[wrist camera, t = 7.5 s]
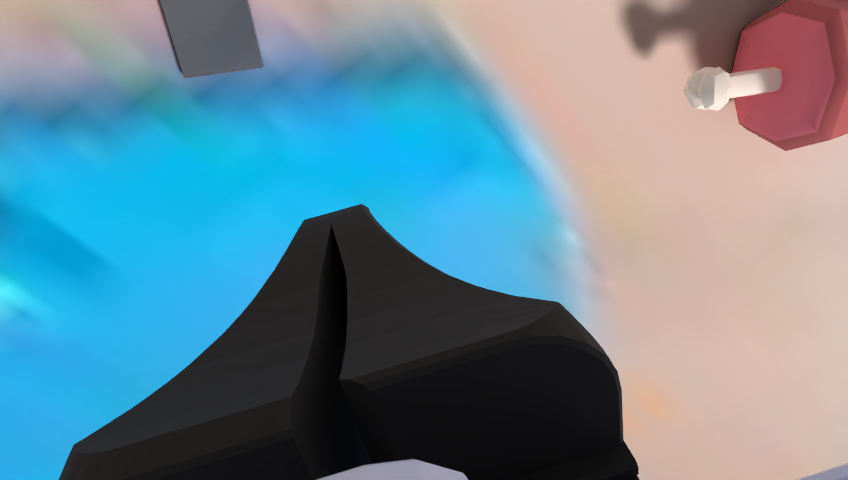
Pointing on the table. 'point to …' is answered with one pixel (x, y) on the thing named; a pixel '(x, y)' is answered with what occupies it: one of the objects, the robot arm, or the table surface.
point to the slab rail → (212, 36)
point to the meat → (785, 75)
